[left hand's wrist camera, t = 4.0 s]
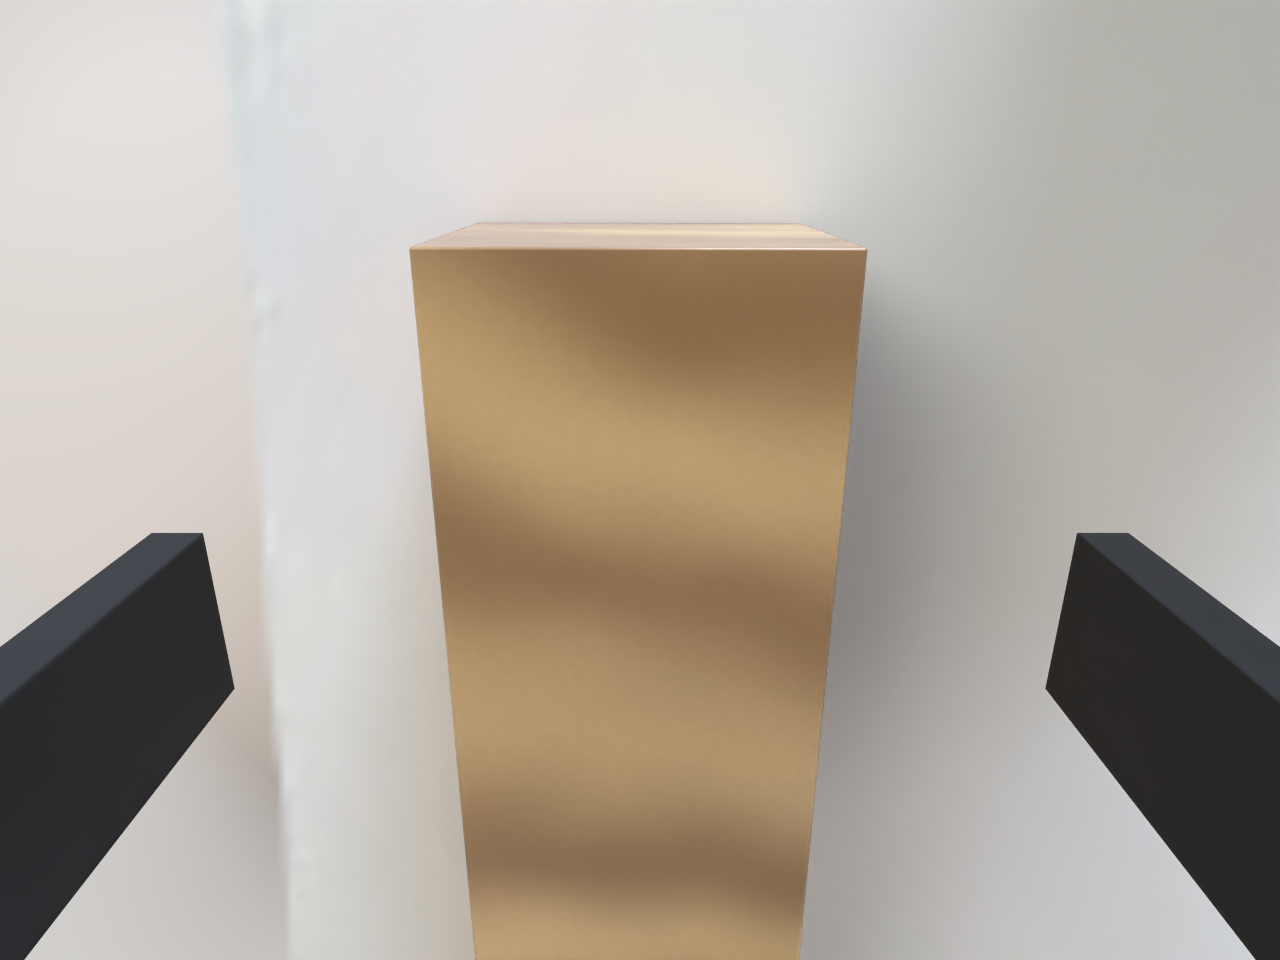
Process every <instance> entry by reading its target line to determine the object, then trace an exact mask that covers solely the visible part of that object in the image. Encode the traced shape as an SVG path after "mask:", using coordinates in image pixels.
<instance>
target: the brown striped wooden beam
mask: <svg viewBox="0 0 1280 960" xmlns="http://www.w3.org/2000/svg"><path fill="white" fill-rule="evenodd" d="M866 259H867V249H866V248H864V247H861V246H859V245H856V244H853V243H851V242H848V241H845V240H842V239H840V238H837V237H834V236H832V235H829V234H826V233H824V232H821V231H818V230H816V229H813V228H810V227H808V226H805V225H802V224H691V223H477V224H474V225H471V226H468V227H466V228H463V229H460V230H457V231H454V232H451V233H449V234H446V235H443V236H440V237H437V238H435V239H432V240H429V241H426V242H423V243H421V244H418V245H415V246H412V247H410V260H411V271H412V281H413V292H414V303H415V314H416V324H417V335H418V346H419V357H420V368H421V378H422V389H423V400H424V411H425V421H426V432H427V443H428V454H429V465H430V475H431V486H432V497H433V508H434V518H435V529H436V540H437V551H438V562H439V572H440V583H441V594H442V605H443V615H444V626H445V637H446V648H447V658H448V669H449V680H450V691H451V702H452V712H453V723H454V734H455V745H456V755H457V766H458V777H459V788H460V799H461V809H462V820H463V831H464V842H465V852H466V863H467V874H468V885H469V896H470V906H471V917H472V928H473V939H474V949H475V960H799V953H800V943H801V933H802V922H803V912H804V902H805V891H806V881H807V871H808V860H809V850H810V839H811V829H812V819H813V808H814V798H815V788H816V777H817V767H818V757H819V746H820V736H821V725H822V715H823V705H824V694H825V684H826V674H827V663H828V653H829V642H830V632H831V622H832V611H833V601H834V591H835V580H836V570H837V560H838V549H839V539H840V528H841V518H842V508H843V497H844V487H845V477H846V466H847V456H848V446H849V435H850V425H851V414H852V404H853V394H854V383H855V373H856V363H857V352H858V342H859V332H860V321H861V311H862V300H863V290H864V280H865V269H866Z"/></svg>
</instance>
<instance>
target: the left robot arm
mask: <svg viewBox="0 0 1280 960" xmlns="http://www.w3.org/2000/svg"><path fill="white" fill-rule="evenodd" d="M1045 689H1046V690H1047V691H1048V692H1049V694H1050V695H1051V696H1052V698H1053V699H1054V700H1055V701H1056V703H1057V704H1058V705H1059V707H1060V708H1061V709H1062V710H1063V712H1064V713H1065V714H1066V716H1067V717H1068V718H1069V720H1070V721H1071V722H1072V723H1073V725H1074V726H1075V727H1076V729H1077V730H1078V731H1079V732H1080V734H1081V735H1082V736H1083V738H1084V739H1085V740H1086V741H1087V743H1088V744H1089V745H1090V747H1091V748H1092V749H1093V750H1094V752H1095V753H1096V754H1097V756H1098V757H1099V758H1100V759H1101V761H1102V762H1103V763H1104V765H1105V766H1106V767H1107V769H1108V770H1109V771H1110V772H1111V774H1112V775H1113V776H1114V778H1115V779H1116V780H1117V781H1118V783H1119V784H1120V785H1121V787H1122V788H1123V789H1124V790H1125V792H1126V793H1127V794H1128V796H1129V797H1130V798H1131V799H1132V801H1133V802H1134V803H1135V805H1136V806H1137V807H1138V808H1139V810H1140V811H1141V812H1142V814H1143V815H1144V816H1145V817H1146V819H1147V820H1148V821H1149V823H1150V824H1151V825H1152V827H1153V828H1154V829H1155V830H1156V832H1157V833H1158V834H1159V836H1160V837H1161V838H1162V839H1163V841H1164V842H1165V843H1166V845H1167V846H1168V847H1169V848H1170V850H1171V851H1172V852H1173V854H1174V855H1175V856H1176V857H1177V859H1178V860H1179V861H1180V863H1181V864H1182V865H1183V866H1184V868H1185V869H1186V870H1187V872H1188V873H1189V874H1190V876H1191V877H1192V878H1193V879H1194V881H1195V882H1196V883H1197V885H1198V886H1199V887H1200V888H1201V890H1202V891H1203V892H1204V894H1205V895H1206V896H1207V897H1208V899H1209V900H1210V901H1211V903H1212V904H1213V905H1214V906H1215V908H1216V909H1217V910H1218V912H1219V913H1220V914H1221V915H1222V917H1223V918H1224V919H1225V921H1226V922H1227V923H1228V925H1229V926H1230V927H1231V928H1232V930H1233V931H1234V932H1235V934H1236V935H1237V936H1238V937H1239V939H1240V940H1241V941H1242V943H1243V944H1244V945H1245V946H1246V948H1247V949H1248V950H1249V952H1250V953H1251V954H1252V955H1253V957H1254V958H1255V959H1256V960H1280V647H1279V646H1278V645H1276V644H1275V643H1274V642H1272V641H1271V640H1270V639H1268V638H1267V637H1266V636H1264V635H1263V634H1262V633H1260V632H1259V631H1258V630H1256V629H1255V628H1254V627H1252V626H1251V625H1250V624H1248V623H1247V622H1246V621H1244V620H1243V619H1242V618H1240V617H1239V616H1238V615H1236V614H1235V613H1234V612H1232V611H1231V610H1230V609H1228V608H1227V607H1226V606H1225V605H1223V604H1222V603H1221V602H1219V601H1218V600H1217V599H1215V598H1214V597H1213V596H1211V595H1210V594H1209V593H1207V592H1206V591H1205V590H1203V589H1202V588H1201V587H1199V586H1198V585H1197V584H1195V583H1194V582H1193V581H1191V580H1190V579H1189V578H1187V577H1186V576H1185V575H1183V574H1182V573H1181V572H1179V571H1178V570H1177V569H1175V568H1174V567H1173V566H1171V565H1170V564H1169V563H1167V562H1166V561H1165V560H1163V559H1162V558H1161V557H1159V556H1158V555H1157V554H1155V553H1154V552H1153V551H1151V550H1150V549H1149V548H1147V547H1146V546H1145V545H1143V544H1142V543H1141V542H1139V541H1138V540H1137V539H1135V538H1134V537H1133V536H1131V535H1130V534H1129V533H1077V536H1076V541H1075V546H1074V551H1073V556H1072V561H1071V566H1070V571H1069V576H1068V581H1067V586H1066V590H1065V595H1064V600H1063V605H1062V610H1061V615H1060V620H1059V625H1058V630H1057V635H1056V639H1055V644H1054V649H1053V654H1052V659H1051V664H1050V669H1049V674H1048V679H1047V684H1046V688H1045ZM233 690H234V684H233V679H232V674H231V669H230V664H229V659H228V654H227V649H226V644H225V639H224V635H223V630H222V625H221V620H220V615H219V610H218V605H217V600H216V595H215V590H214V586H213V581H212V576H211V571H210V566H209V561H208V556H207V551H206V546H205V541H204V537H203V533H151V534H150V535H149V536H147V537H146V538H145V539H143V540H142V541H141V542H139V543H138V544H137V545H135V546H134V547H133V548H131V549H130V550H129V551H127V552H126V553H125V554H123V555H122V556H121V557H119V558H118V559H117V560H115V561H114V562H113V563H111V564H110V565H109V566H107V567H106V568H105V569H103V570H102V571H101V572H99V573H98V574H97V575H95V576H94V577H93V578H91V579H90V580H89V581H87V582H86V583H85V584H83V585H82V586H81V587H80V588H78V589H77V590H75V591H74V592H73V593H72V594H70V595H69V596H67V597H66V598H65V599H64V600H62V601H61V602H60V603H58V604H57V605H55V606H54V607H53V608H52V609H50V610H49V611H48V612H46V613H45V614H44V615H42V616H41V617H40V618H38V619H37V620H36V621H34V622H33V623H32V624H30V625H29V626H28V627H26V628H25V629H24V630H22V631H21V632H20V633H18V634H17V635H16V636H14V637H13V638H12V639H10V640H9V641H8V642H6V643H5V644H4V645H2V646H1V647H0V960H24V959H25V958H26V957H27V955H28V954H29V953H30V952H31V950H32V949H33V948H34V946H35V945H36V944H37V942H38V941H39V940H40V939H41V937H42V936H43V935H44V933H45V932H46V931H47V930H48V928H49V927H50V926H51V925H52V923H53V922H54V921H55V919H56V918H57V917H58V915H59V914H60V913H61V912H62V910H63V909H64V908H65V906H66V905H67V904H68V903H69V901H70V900H71V899H72V897H73V896H74V895H75V893H76V892H77V891H78V890H79V888H80V887H81V886H82V885H83V883H84V882H85V881H86V879H87V878H88V877H89V875H90V874H91V873H92V872H93V870H94V869H95V868H96V866H97V865H98V864H99V863H100V861H101V860H102V859H103V857H104V856H105V855H106V854H107V852H108V851H109V850H110V848H111V847H112V846H113V845H114V843H115V842H116V841H117V839H118V838H119V837H120V836H121V834H122V833H123V832H124V830H125V829H126V828H127V827H128V825H129V824H130V823H131V821H132V820H133V819H134V817H135V816H136V815H137V814H138V812H139V811H140V810H141V808H142V807H143V806H144V805H145V803H146V802H147V801H148V799H149V798H150V797H151V796H152V794H153V793H154V792H155V790H156V789H157V788H158V787H159V785H160V784H161V783H162V781H163V780H164V779H165V777H166V776H167V775H168V774H169V772H170V771H171V770H172V768H173V767H174V766H175V765H176V763H177V762H178V761H179V759H180V758H181V757H182V756H183V754H184V753H185V752H186V750H187V749H188V748H189V747H190V745H191V744H192V743H193V741H194V740H195V739H196V738H197V736H198V735H199V734H200V732H201V731H202V730H203V729H204V727H205V726H206V725H207V723H208V722H209V721H210V719H211V718H212V717H213V716H214V714H215V713H216V712H217V710H218V709H219V708H220V707H221V705H222V704H223V703H224V701H225V700H226V699H227V698H228V696H229V695H230V694H231V692H232V691H233Z"/></svg>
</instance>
